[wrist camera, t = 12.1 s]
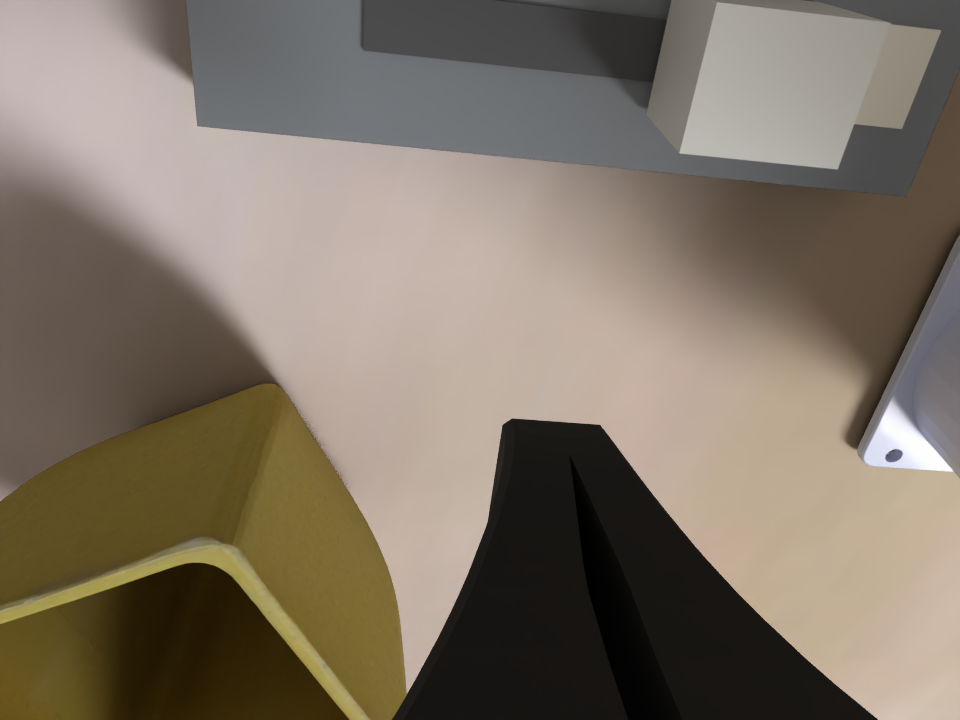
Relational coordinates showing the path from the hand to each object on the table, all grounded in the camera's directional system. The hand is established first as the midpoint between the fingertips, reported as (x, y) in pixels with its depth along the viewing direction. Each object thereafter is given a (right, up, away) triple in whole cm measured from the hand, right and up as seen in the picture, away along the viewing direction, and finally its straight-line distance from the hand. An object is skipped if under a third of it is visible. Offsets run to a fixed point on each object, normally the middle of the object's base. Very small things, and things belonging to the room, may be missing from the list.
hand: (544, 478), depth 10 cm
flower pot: (-8, -1, +13) cm, 16 cm away
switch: (+4, +8, +5) cm, 10 cm away
